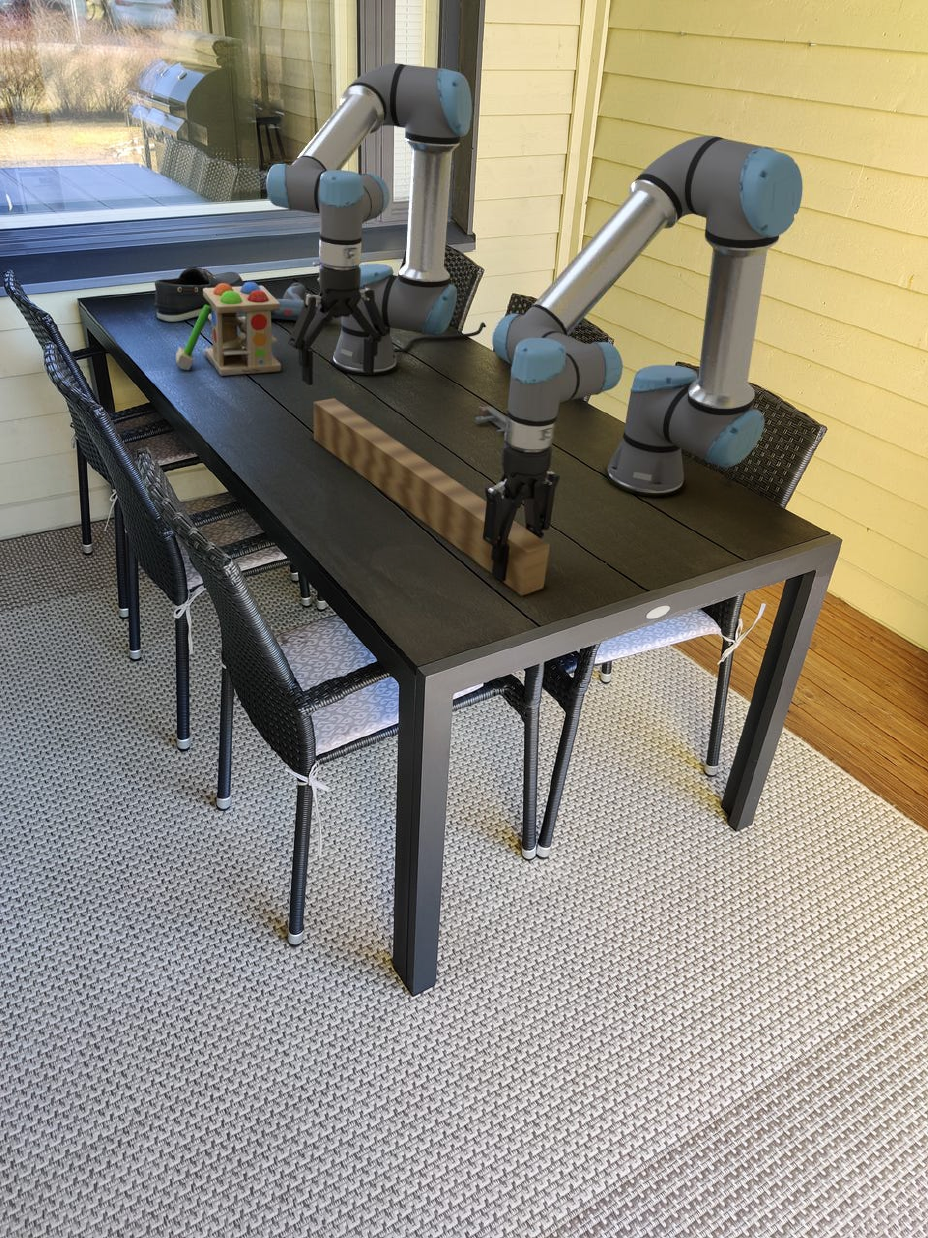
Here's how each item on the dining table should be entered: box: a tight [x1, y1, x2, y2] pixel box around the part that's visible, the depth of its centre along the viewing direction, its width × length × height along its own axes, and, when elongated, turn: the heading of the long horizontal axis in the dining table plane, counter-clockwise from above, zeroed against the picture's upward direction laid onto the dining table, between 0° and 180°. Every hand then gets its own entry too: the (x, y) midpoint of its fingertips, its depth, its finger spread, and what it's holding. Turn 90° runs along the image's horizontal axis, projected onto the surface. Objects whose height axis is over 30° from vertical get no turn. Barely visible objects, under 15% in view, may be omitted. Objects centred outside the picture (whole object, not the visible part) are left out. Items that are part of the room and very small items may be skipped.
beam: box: [313, 397, 551, 597], centre depth 178 cm, size 67×5×8 cm, turn 37°
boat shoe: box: [153, 265, 244, 323], centre depth 262 cm, size 13×33×10 cm, turn 147°
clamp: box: [474, 405, 507, 434], centre depth 212 cm, size 15×2×10 cm
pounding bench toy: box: [174, 281, 282, 377], centre depth 225 cm, size 23×14×18 cm, turn 116°
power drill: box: [271, 282, 335, 323], centre depth 265 cm, size 5×19×20 cm
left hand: (338, 377), depth 190 cm, fingers open, 13 cm apart
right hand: (511, 572), depth 162 cm, fingers closed on beam, 5 cm apart
